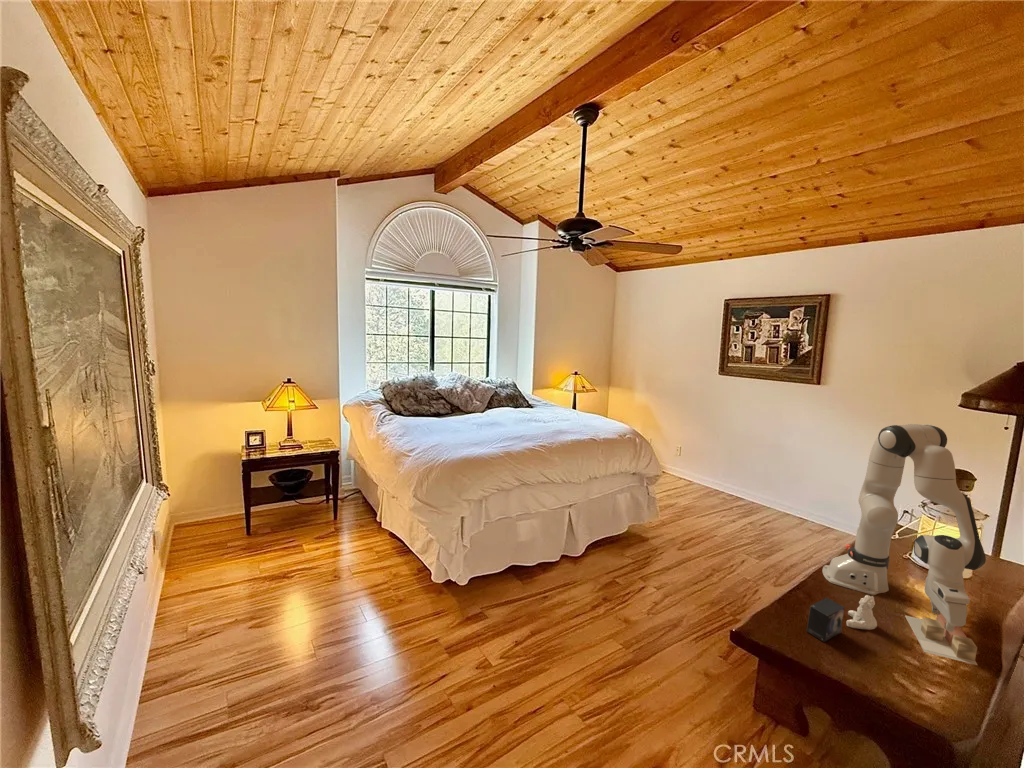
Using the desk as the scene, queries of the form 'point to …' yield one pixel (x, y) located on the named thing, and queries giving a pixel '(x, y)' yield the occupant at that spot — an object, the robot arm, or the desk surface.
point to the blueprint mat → (933, 642)
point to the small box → (825, 619)
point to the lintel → (948, 634)
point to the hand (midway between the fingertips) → (942, 621)
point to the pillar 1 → (932, 629)
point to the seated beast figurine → (863, 615)
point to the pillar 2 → (964, 647)
